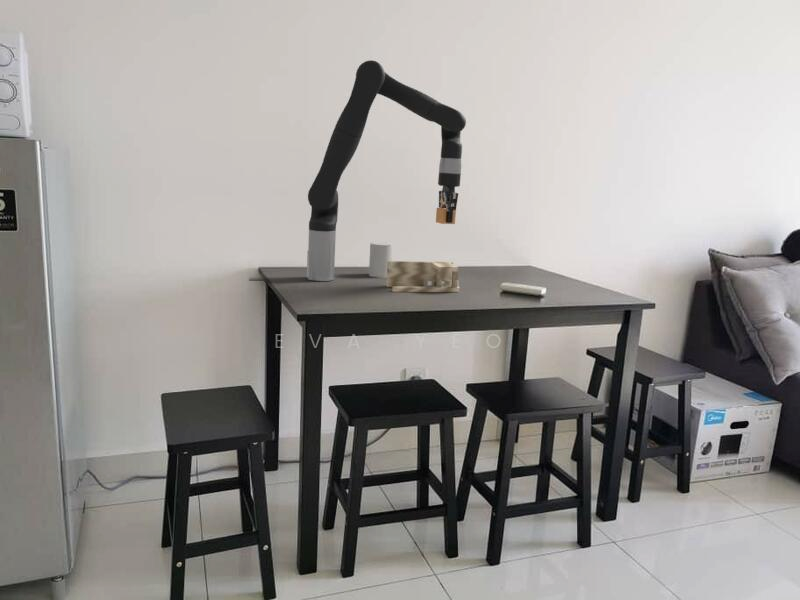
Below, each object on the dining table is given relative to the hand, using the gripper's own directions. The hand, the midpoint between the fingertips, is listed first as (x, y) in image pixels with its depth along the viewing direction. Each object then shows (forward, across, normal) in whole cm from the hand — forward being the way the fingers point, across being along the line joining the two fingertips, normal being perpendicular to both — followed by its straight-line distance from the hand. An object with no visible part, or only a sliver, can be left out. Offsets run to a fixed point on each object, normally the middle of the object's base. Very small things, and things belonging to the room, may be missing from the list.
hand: (446, 221), depth 218 cm
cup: (+23, +16, +19) cm, 34 cm away
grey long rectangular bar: (+23, -9, +3) cm, 24 cm away
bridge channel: (+22, -8, +9) cm, 26 cm away
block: (+1, 0, 0) cm, 1 cm away
